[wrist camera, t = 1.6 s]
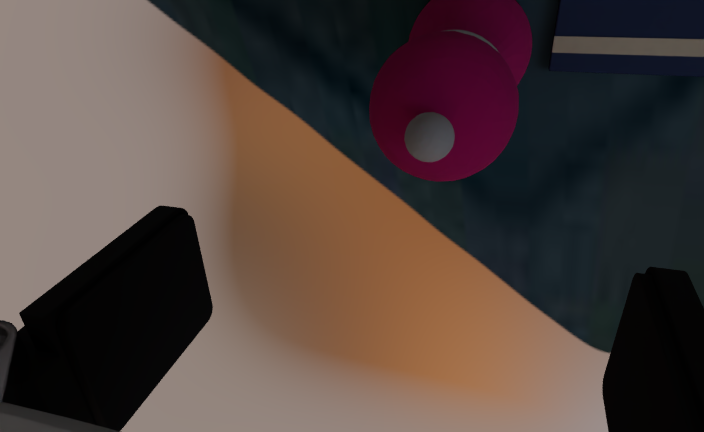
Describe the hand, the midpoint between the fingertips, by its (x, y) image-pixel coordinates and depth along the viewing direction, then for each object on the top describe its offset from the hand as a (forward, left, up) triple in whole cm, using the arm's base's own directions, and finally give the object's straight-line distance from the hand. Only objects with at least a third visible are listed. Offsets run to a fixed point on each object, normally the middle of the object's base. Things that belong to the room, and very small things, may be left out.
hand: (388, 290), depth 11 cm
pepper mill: (-1, 0, -28) cm, 28 cm away
